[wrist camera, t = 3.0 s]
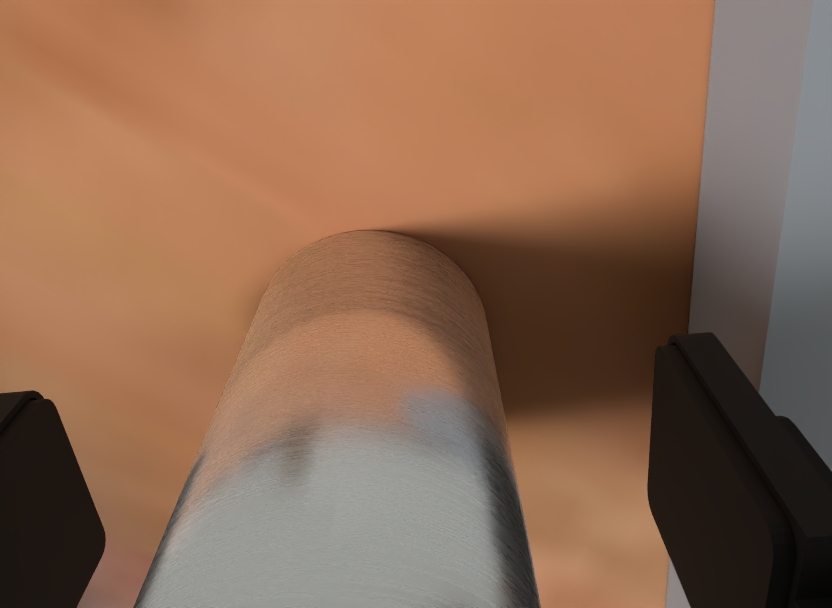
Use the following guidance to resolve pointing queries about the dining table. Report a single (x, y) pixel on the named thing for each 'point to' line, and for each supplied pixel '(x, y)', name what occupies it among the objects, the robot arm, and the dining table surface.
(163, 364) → the dining table surface
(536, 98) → the dining table surface
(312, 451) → the cylinder
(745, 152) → the grey hole board
